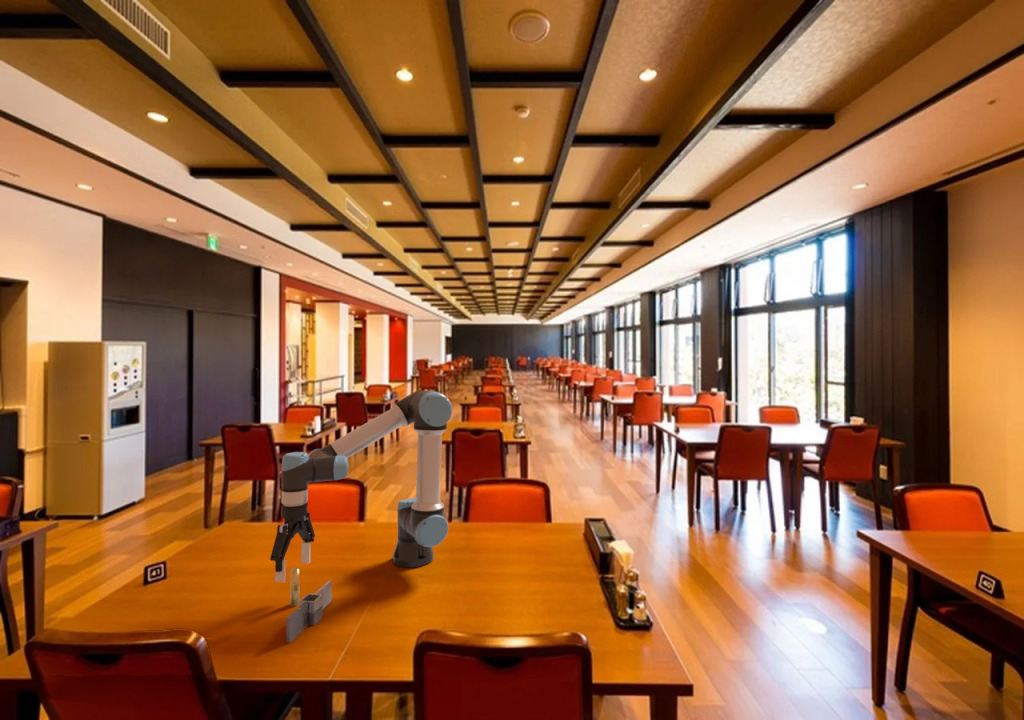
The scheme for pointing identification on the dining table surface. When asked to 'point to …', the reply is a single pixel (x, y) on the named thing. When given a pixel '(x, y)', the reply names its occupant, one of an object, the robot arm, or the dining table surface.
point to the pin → (294, 587)
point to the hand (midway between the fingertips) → (293, 571)
